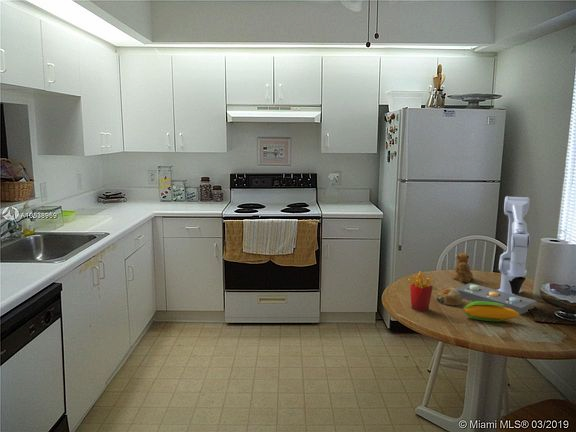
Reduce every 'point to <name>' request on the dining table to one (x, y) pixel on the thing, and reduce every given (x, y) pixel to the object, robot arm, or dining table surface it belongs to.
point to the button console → (496, 298)
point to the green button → (474, 287)
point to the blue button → (514, 299)
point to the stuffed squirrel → (462, 269)
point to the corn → (489, 311)
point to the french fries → (420, 292)
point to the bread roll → (449, 297)
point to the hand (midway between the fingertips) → (515, 293)
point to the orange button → (494, 294)
